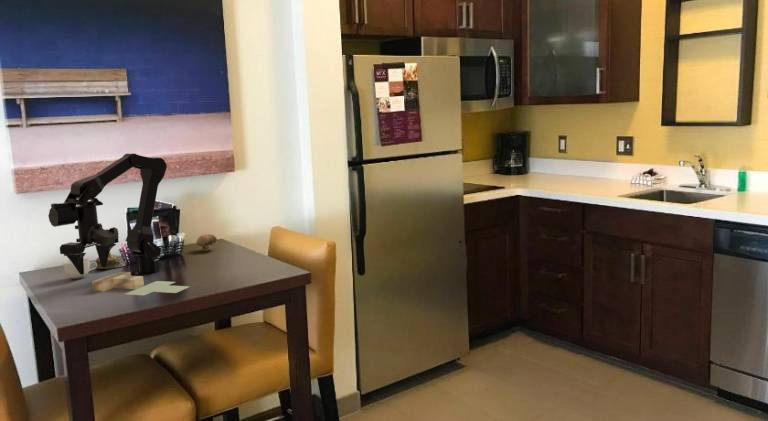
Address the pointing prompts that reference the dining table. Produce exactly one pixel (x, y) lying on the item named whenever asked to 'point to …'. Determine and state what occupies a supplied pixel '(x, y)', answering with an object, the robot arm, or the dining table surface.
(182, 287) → the pad
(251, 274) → the dining table surface
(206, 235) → the mushroom
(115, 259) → the cake
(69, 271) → the teacup
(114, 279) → the t block
